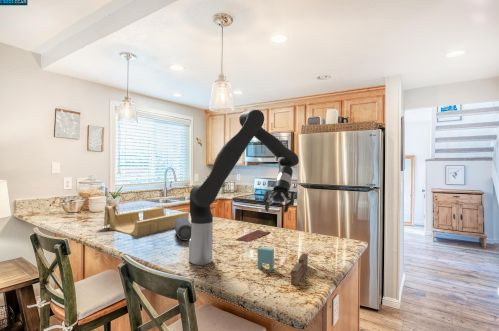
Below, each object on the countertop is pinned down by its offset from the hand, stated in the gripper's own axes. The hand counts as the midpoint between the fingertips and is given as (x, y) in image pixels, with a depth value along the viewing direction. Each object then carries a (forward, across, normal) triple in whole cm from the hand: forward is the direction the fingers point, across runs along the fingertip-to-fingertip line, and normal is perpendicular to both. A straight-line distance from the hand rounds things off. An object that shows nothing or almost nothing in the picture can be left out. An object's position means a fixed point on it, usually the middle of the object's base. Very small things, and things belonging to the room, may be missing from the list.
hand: (275, 211), depth 120 cm
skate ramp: (-2, -97, +32) cm, 102 cm away
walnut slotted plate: (+24, +14, +6) cm, 29 cm away
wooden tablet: (-6, -23, +38) cm, 45 cm away
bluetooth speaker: (+7, -59, +23) cm, 64 cm away
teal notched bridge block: (+24, 0, +6) cm, 25 cm away
